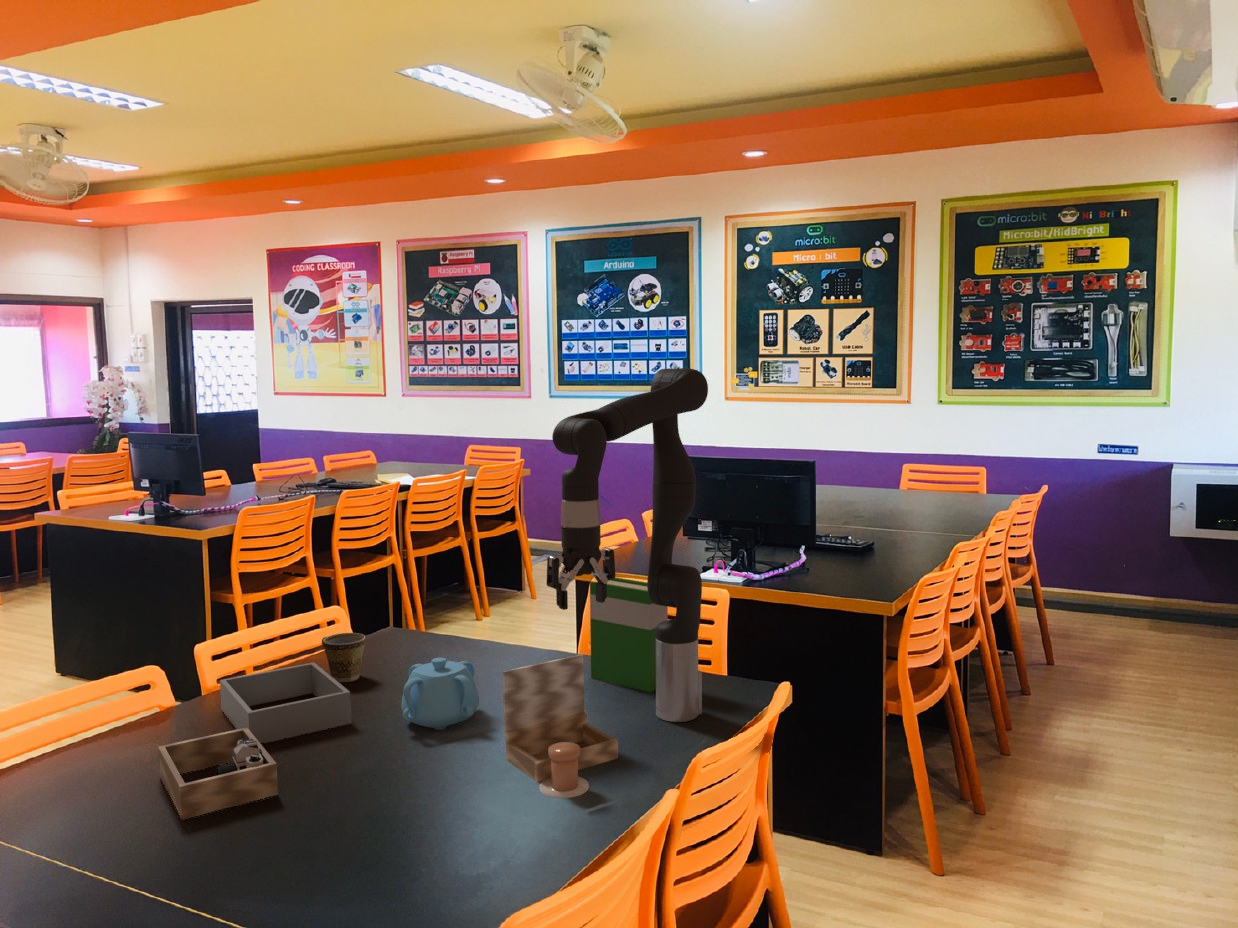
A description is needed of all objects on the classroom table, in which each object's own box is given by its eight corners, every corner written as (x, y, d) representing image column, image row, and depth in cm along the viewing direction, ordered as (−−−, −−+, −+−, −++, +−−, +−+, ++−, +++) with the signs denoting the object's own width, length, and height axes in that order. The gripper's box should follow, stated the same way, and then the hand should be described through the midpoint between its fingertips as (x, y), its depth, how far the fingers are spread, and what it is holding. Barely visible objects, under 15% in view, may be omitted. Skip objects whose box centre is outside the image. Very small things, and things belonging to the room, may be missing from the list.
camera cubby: (248, 756, 188) (247, 727, 188) (278, 795, 171) (276, 763, 170) (159, 777, 179) (158, 746, 179) (181, 820, 162) (179, 786, 161)
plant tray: (315, 691, 226) (314, 662, 225) (351, 723, 205) (350, 691, 204) (221, 710, 214) (219, 680, 213) (250, 746, 193) (248, 713, 192)
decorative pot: (473, 734, 199) (471, 671, 197) (395, 735, 198) (393, 671, 197) (483, 706, 215) (481, 647, 213) (411, 707, 215) (409, 648, 213)
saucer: (572, 774, 179) (572, 771, 179) (598, 791, 172) (598, 788, 171) (530, 786, 174) (530, 783, 174) (555, 805, 166) (555, 801, 166)
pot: (570, 775, 177) (569, 739, 176) (587, 787, 172) (586, 749, 171) (542, 784, 173) (542, 747, 173) (559, 795, 169) (558, 757, 168)
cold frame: (580, 738, 196) (579, 652, 194) (618, 760, 185) (617, 670, 183) (502, 759, 186) (500, 669, 184) (537, 784, 175) (535, 689, 173)
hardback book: (591, 678, 233) (589, 581, 230) (609, 670, 239) (608, 576, 236) (650, 692, 222) (649, 591, 220) (667, 683, 228) (667, 585, 226)
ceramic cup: (375, 675, 236) (373, 636, 235) (344, 687, 228) (342, 646, 227) (339, 667, 243) (337, 628, 242) (307, 678, 235) (305, 638, 234)
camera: (210, 780, 178) (207, 735, 176) (254, 769, 182) (251, 725, 181) (225, 812, 167) (222, 764, 166) (271, 799, 172) (269, 753, 170)
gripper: (600, 516, 190) (601, 596, 191) (538, 523, 181) (540, 607, 183) (622, 521, 183) (623, 603, 185) (559, 529, 175) (560, 615, 177)
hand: (581, 605), depth 184 cm, fingers open, 8 cm apart
